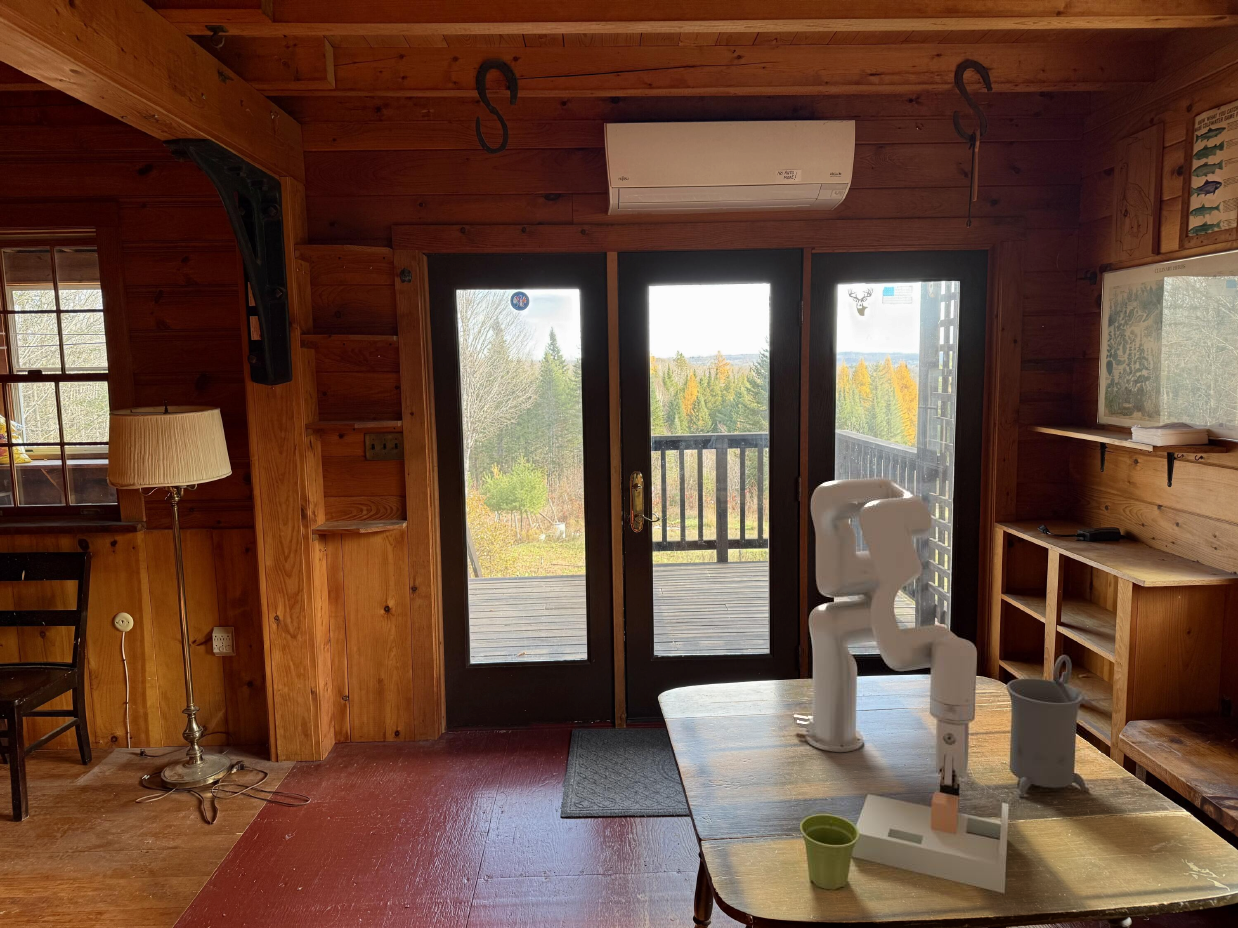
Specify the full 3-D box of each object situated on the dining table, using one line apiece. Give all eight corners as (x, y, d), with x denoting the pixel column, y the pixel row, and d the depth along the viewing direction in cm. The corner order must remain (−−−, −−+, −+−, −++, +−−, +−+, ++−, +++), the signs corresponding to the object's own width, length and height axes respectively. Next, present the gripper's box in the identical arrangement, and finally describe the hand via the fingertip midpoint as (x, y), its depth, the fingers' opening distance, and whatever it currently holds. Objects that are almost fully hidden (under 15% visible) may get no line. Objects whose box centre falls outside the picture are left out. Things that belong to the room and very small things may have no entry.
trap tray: (850, 856, 142) (851, 820, 142) (867, 808, 158) (868, 776, 157) (1004, 893, 132) (1006, 854, 131) (1007, 838, 147) (1008, 803, 146)
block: (930, 828, 145) (931, 801, 145) (933, 817, 149) (934, 791, 148) (955, 834, 143) (956, 806, 143) (957, 822, 147) (958, 796, 146)
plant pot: (859, 867, 139) (860, 818, 138) (856, 901, 130) (857, 849, 129) (802, 857, 142) (803, 809, 141) (796, 890, 133) (796, 839, 132)
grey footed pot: (1057, 813, 155) (1063, 684, 152) (983, 782, 167) (987, 662, 164) (1103, 782, 166) (1109, 662, 164) (1030, 755, 178) (1035, 643, 175)
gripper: (972, 727, 141) (969, 829, 143) (977, 695, 154) (973, 789, 156) (925, 719, 144) (922, 819, 146) (934, 689, 157) (931, 781, 159)
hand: (949, 804), depth 151 cm, fingers closed
